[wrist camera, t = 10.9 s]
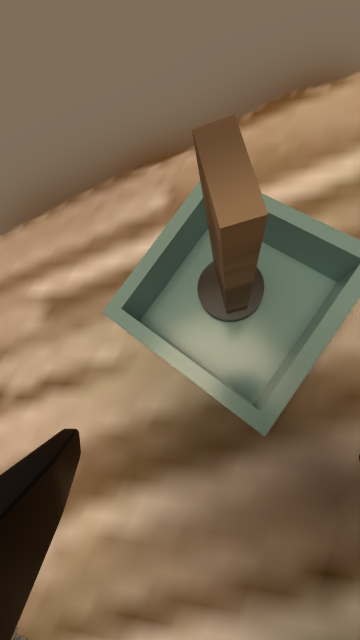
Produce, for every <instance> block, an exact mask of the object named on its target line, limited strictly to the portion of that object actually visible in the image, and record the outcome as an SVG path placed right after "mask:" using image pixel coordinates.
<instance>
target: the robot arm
mask: <svg viewBox="0 0 360 640" xmlns="http://www.w3.org/2000/svg"><path fill="white" fill-rule="evenodd" d="M80 454H81V449H80V438H79V431H78V430H77V429H63V430H62V431H60V432H59V433H58V434H56V435H55V436H53V437H52V438H51V439H49V440H48V441H47V442H45V443H44V444H42V445H41V446H40V447H38V448H37V449H36V450H34V451H33V452H31V453H30V454H29V455H27V456H26V457H25V458H23V459H22V460H20V461H19V462H18V463H16V464H15V465H14V466H12V467H11V468H9V469H8V470H7V471H5V472H4V473H3V474H1V475H0V640H11V638H12V636H13V634H14V631H15V629H16V626H17V624H18V621H19V619H20V617H21V614H22V612H23V609H24V607H25V604H26V602H27V600H28V597H29V595H30V592H31V590H32V587H33V585H34V583H35V580H36V578H37V575H38V573H39V570H40V568H41V566H42V563H43V561H44V558H45V556H46V553H47V551H48V548H49V546H50V544H51V541H52V539H53V536H54V534H55V531H56V529H57V527H58V524H59V522H60V519H61V517H62V514H63V511H64V508H65V505H66V502H67V499H68V495H69V492H70V489H71V485H72V482H73V479H74V476H75V472H76V469H77V466H78V462H79V459H80ZM359 460H360V455H359Z"/></svg>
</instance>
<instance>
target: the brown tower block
mask: <svg viewBox="0 0 360 640" xmlns="http://www.w3.org/2000/svg"><path fill="white" fill-rule="evenodd" d="M192 132H193V138H194V144H195V150H196V157H197V163H198V169H199V175H200V181H201V188H202V194H203V200H204V206H205V212H206V219H207V225H208V231H209V237H210V243H211V249H212V256H213V262H211V263H210V264H209V265H208V266H207V267H206V268H205V269H204V270H203V271H202V273H201V275H200V277H199V280H198V286H197V291H198V296H199V299H200V302H201V304H202V306H203V308H204V309H205V311H206V312H207V313H208V314H209V315H210V316H212V317H213V318H215V319H217V320H220V321H224V322H236V321H240V320H243V319H245V318H247V317H249V316H250V315H251V314H253V313H254V312H255V311H256V309H257V308H258V306H259V304H260V302H261V300H262V297H263V294H264V280H263V276H262V274H261V272H260V270H259V269H258V268H257V262H258V258H259V253H260V249H261V244H262V240H263V236H264V231H265V227H266V222H267V218H268V212H267V209H266V206H265V203H264V200H263V197H262V194H261V191H260V188H259V185H258V182H257V179H256V176H255V173H254V170H253V167H252V165H251V162H250V159H249V156H248V153H247V150H246V147H245V144H244V141H243V138H242V135H241V132H240V129H239V126H238V123H237V120H236V117H235V115H232V116H229V117H226V118H224V119H221V120H218V121H215V122H213V123H210V124H207V125H204V126H202V127H198V128H196V129H193V130H192Z"/></svg>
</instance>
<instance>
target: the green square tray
mask: <svg viewBox="0 0 360 640" xmlns="http://www.w3.org/2000/svg"><path fill="white" fill-rule="evenodd" d="M261 194H262V193H261ZM262 197H263V200H264V203H265V206H266V209H267V212H268V218H267V222H266V227H265V231H264V236H263V240H262V244H261V249H260V253H259V258H258V262H257V268H258V269H259V270H260V272H261V274H262V276H263V280H264V294H263V297H262V300H261V302H260V304H259V306H258V308H257V309H256V311H255V312H254V313H253V314H251V315H250V316H249V317H247V318H245V319H243V320H240V321H236V322H224V321H220V320H217V319H215V318H213V317H212V316H210V315H209V314H208V313H207V312H206V311H205V309H204V308H203V306H202V304H201V302H200V299H199V296H198V291H197V286H198V280H199V277H200V275H201V273H202V271H203V270H204V269H205V268H206V267H207V266H208V265H209V264H210V263H211V262H213V256H212V249H211V243H210V237H209V231H208V225H207V219H206V212H205V206H204V200H203V194H202V188H201V181H200V182H199V183H198V184H197V186H196V187H195V188H194V190H193V191H192V192H191V194H190V195H189V196H188V198H187V199H186V200H185V202H184V203H183V204H182V206H181V207H180V208H179V210H178V211H177V212H176V214H175V215H174V216H173V218H172V219H171V221H170V222H169V223H168V225H167V226H166V227H165V229H164V230H163V231H162V233H161V234H160V235H159V237H158V238H157V239H156V241H155V242H154V243H153V245H152V246H151V247H150V249H149V250H148V251H147V253H146V254H145V256H144V257H143V258H142V260H141V261H140V262H139V264H138V265H137V266H136V268H135V269H134V270H133V272H132V273H131V274H130V276H129V277H128V278H127V280H126V281H125V282H124V284H123V285H122V286H121V288H120V289H119V290H118V292H117V293H116V295H115V296H114V297H113V299H112V300H111V301H110V303H109V304H108V305H107V307H106V308H105V309H104V311H103V312H102V313H104V314H105V315H106V316H108V317H109V318H110V319H111V320H113V321H114V322H115V323H117V324H118V325H119V326H121V327H122V328H123V329H125V330H126V331H127V332H128V333H130V334H131V335H132V336H134V337H135V338H136V339H138V340H139V341H140V342H142V343H143V344H144V345H145V346H147V347H148V348H149V349H151V350H152V351H153V352H155V353H156V354H157V355H159V356H160V357H161V358H162V359H164V360H165V361H166V362H168V363H169V364H170V365H172V366H173V367H174V368H176V369H177V370H178V371H179V372H181V373H182V374H183V375H185V376H186V377H187V378H189V379H190V380H191V381H193V382H194V383H195V384H196V385H198V386H199V387H200V388H202V389H203V390H204V391H206V392H207V393H208V394H210V395H211V396H212V397H213V398H215V399H216V400H217V401H219V402H220V403H221V404H223V405H224V406H225V407H226V408H228V409H229V410H230V411H232V412H233V413H234V414H236V415H237V416H238V417H240V418H241V419H242V420H243V421H245V422H246V423H247V424H249V425H250V426H251V427H253V428H254V429H255V430H257V431H258V432H259V433H260V434H262V435H263V436H264V437H265V436H266V435H267V433H268V432H269V430H270V429H271V427H272V426H273V424H274V423H275V421H276V420H277V418H278V417H279V415H280V414H281V412H282V411H283V409H284V408H285V406H286V405H287V404H288V402H289V401H290V399H291V398H292V396H293V395H294V393H295V392H296V390H297V389H298V387H299V386H300V384H301V383H302V381H303V380H304V378H305V377H306V375H307V374H308V373H309V371H310V370H311V368H312V367H313V365H314V364H315V362H316V361H317V359H318V358H319V356H320V355H321V353H322V352H323V350H324V349H325V347H326V346H327V344H328V343H329V342H330V340H331V339H332V337H333V336H334V334H335V333H336V331H337V330H338V328H339V327H340V325H341V324H342V322H343V321H344V319H345V318H346V316H347V315H348V313H349V312H350V311H351V309H352V308H353V306H354V305H355V303H356V302H357V300H358V299H359V297H360V240H358V239H356V238H354V237H352V236H350V235H347V234H345V233H343V232H341V231H339V230H337V229H335V228H333V227H331V226H329V225H327V224H325V223H322V222H320V221H318V220H316V219H314V218H312V217H310V216H308V215H306V214H304V213H302V212H299V211H297V210H295V209H293V208H291V207H289V206H287V205H285V204H283V203H281V202H279V201H276V200H274V199H272V198H270V197H268V196H266V195H264V194H262Z"/></svg>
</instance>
